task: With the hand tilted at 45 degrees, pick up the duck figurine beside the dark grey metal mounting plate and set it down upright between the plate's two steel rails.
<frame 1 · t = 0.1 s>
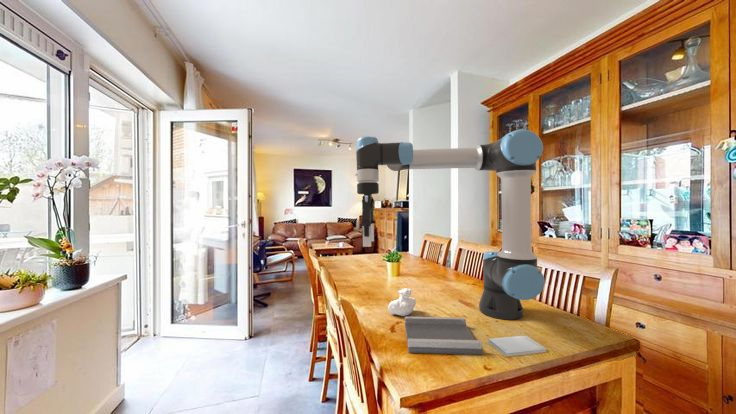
hand: (368, 243, 94), 28 cm above the table, tool pointing down, fingers open, 13 cm apart
rail plate: (439, 338, 84), on the table
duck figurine: (403, 314, 102), on the table
hard drive: (515, 349, 78), on the table
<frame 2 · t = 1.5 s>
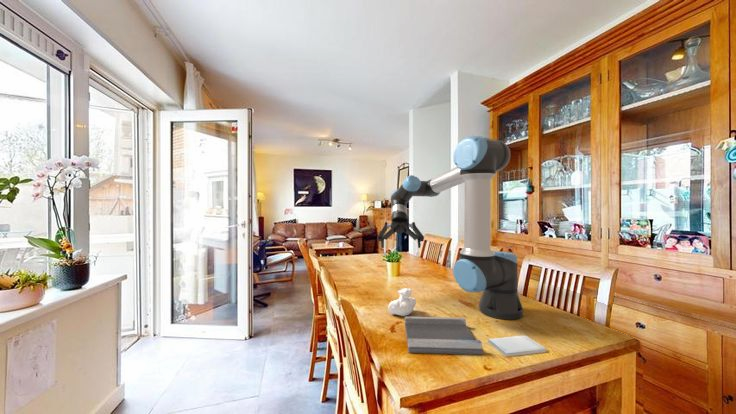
hand: (401, 253, 113), 21 cm above the table, tool tilted 45°, fingers open, 13 cm apart
nothing on the table moved.
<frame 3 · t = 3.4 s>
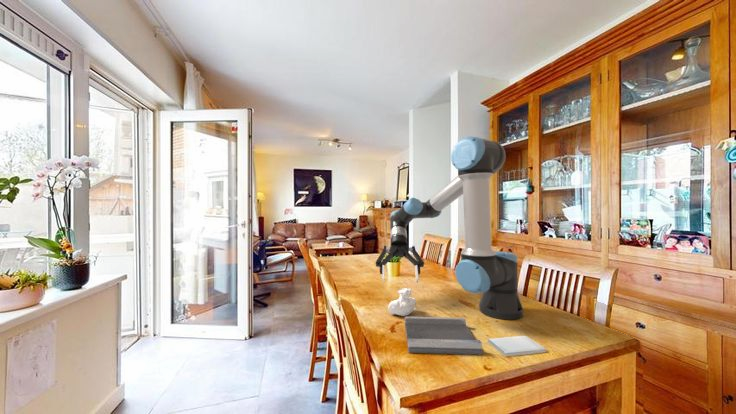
hand: (400, 280, 109), 11 cm above the table, tool tilted 45°, fingers open, 13 cm apart
nothing on the table moved.
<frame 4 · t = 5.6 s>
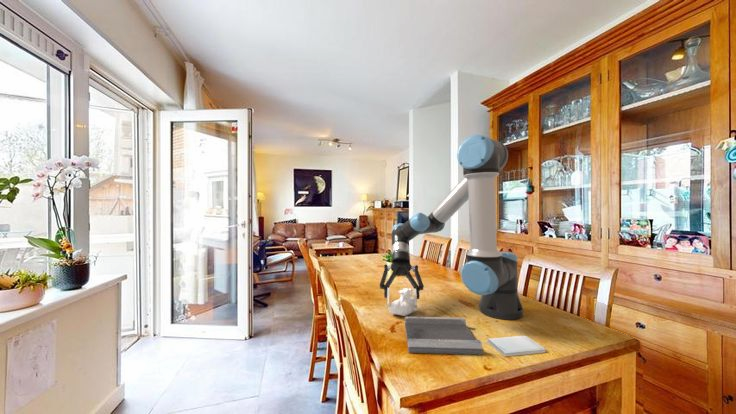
hand: (402, 306, 99), 4 cm above the table, tool tilted 45°, fingers open, 9 cm apart
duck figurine: (404, 314, 102), on the table, touching gripper
everything else where it was.
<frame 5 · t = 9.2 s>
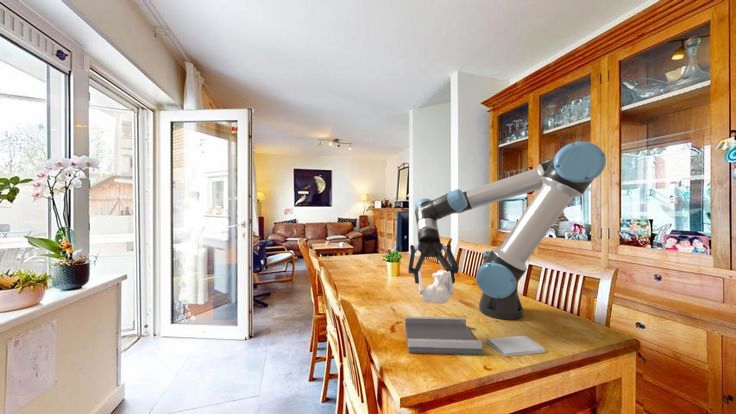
hand: (436, 292, 81), 15 cm above the table, tool tilted 45°, fingers closed on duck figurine, 8 cm apart
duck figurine: (439, 302, 85), point 11 cm above the table, touching gripper
everything else where it was.
when the fingers open (7 cm above the table, at t = 12.2 s): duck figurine drops 1 cm, resting on rail plate.
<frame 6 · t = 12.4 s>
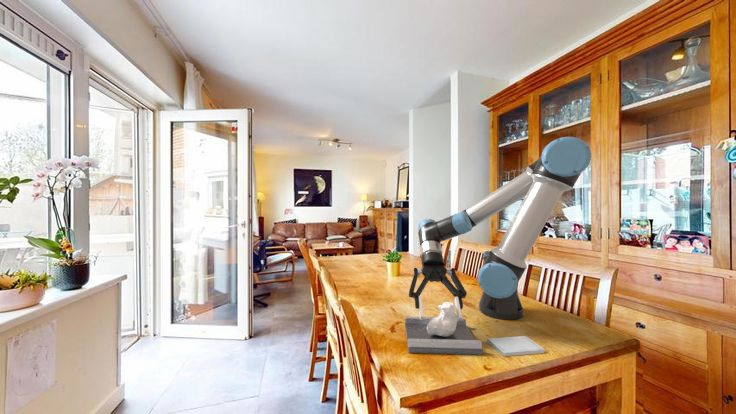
hand: (440, 319, 81), 7 cm above the table, tool tilted 45°, fingers open, 11 cm apart
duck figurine: (444, 334, 83), point 1 cm above the table, touching rail plate
everything else where it was.
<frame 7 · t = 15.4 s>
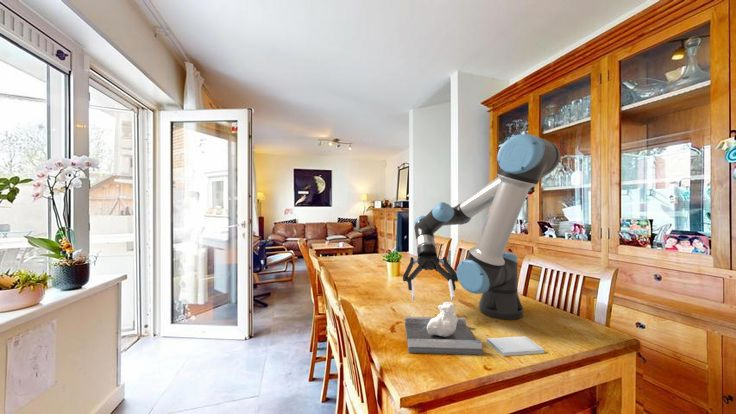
hand: (433, 298, 95), 8 cm above the table, tool tilted 45°, fingers open, 13 cm apart
nothing on the table moved.
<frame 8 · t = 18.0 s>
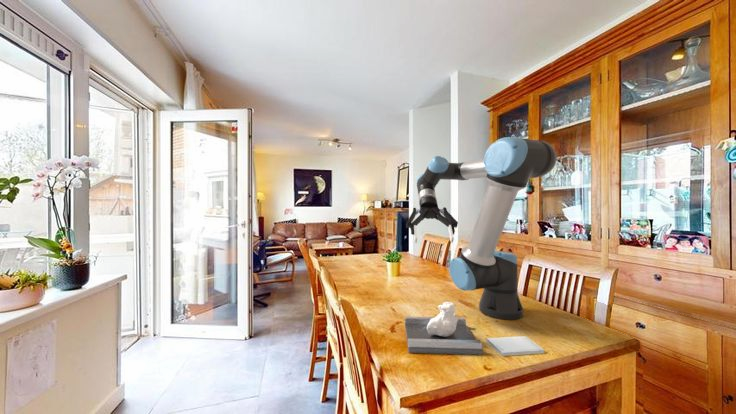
hand: (434, 240, 103), 28 cm above the table, tool tilted 45°, fingers open, 13 cm apart
nothing on the table moved.
at the end: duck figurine inside the target area on the rail plate (1.6 cm from its centre), point 1.0 cm above the rail plate's base; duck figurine tilted 0°; the gripper is holding nothing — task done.
